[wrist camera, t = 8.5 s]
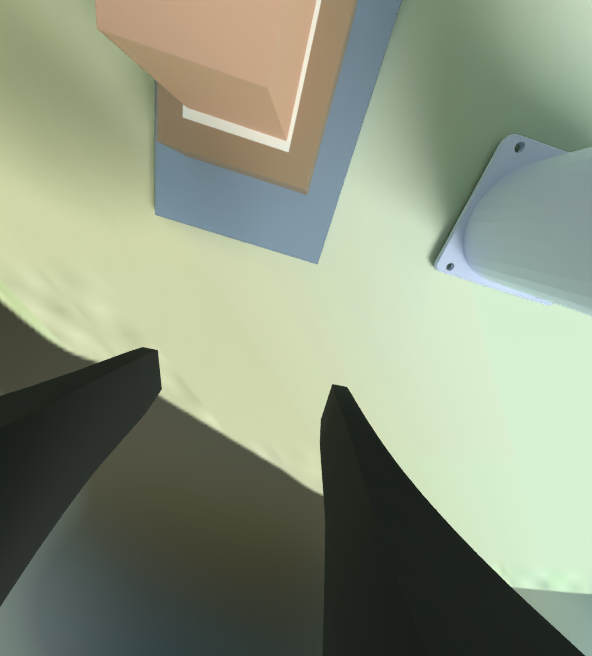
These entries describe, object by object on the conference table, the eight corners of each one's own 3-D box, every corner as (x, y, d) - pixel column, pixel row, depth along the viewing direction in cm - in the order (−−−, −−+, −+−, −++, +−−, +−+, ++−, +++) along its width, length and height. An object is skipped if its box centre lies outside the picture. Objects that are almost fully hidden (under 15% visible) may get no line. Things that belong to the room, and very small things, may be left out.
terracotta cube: (318, -12, 9) (323, -245, 4) (286, 141, 11) (267, 87, 7) (195, -58, 9) (69, -354, 4) (187, 107, 11) (97, 28, 6)
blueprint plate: (428, -87, 10) (482, -234, 7) (317, 262, 17) (318, 273, 14) (165, -193, 10) (86, -409, 6) (160, 214, 16) (121, 213, 13)
